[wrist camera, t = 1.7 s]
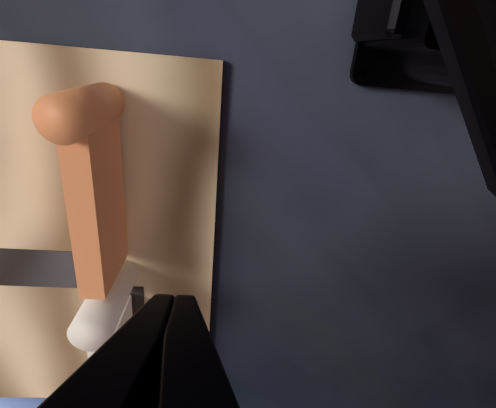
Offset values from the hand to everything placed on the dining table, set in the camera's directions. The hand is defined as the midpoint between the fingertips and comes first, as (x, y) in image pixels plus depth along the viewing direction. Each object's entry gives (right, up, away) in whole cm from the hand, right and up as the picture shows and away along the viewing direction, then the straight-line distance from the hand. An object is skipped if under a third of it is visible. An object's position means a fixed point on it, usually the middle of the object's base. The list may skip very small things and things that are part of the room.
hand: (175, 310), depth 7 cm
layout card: (-9, -1, +13) cm, 16 cm away
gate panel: (-6, +4, +10) cm, 12 cm away
